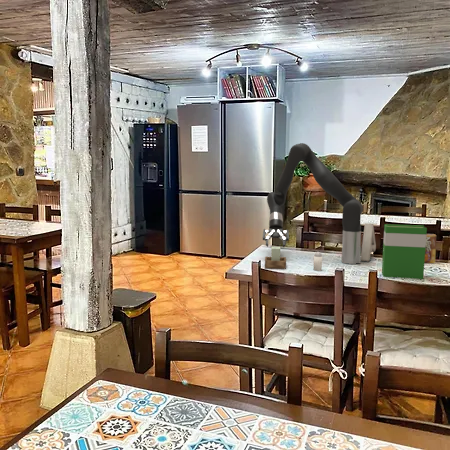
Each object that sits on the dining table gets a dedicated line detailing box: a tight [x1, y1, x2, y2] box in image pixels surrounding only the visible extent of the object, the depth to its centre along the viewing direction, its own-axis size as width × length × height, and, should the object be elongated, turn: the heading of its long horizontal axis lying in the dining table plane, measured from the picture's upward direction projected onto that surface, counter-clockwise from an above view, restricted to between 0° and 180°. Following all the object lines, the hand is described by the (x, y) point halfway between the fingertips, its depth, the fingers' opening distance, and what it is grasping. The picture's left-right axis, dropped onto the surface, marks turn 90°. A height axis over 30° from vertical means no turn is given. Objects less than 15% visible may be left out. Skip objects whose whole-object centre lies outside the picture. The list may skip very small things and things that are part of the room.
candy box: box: [424, 233, 437, 264], centre depth 242 cm, size 9×4×15 cm, turn 81°
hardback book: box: [381, 223, 428, 280], centre depth 214 cm, size 18×7×24 cm, turn 77°
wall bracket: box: [360, 223, 377, 263], centre depth 260 cm, size 22×4×30 cm
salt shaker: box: [313, 251, 323, 272], centre depth 226 cm, size 4×4×9 cm
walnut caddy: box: [264, 256, 287, 270], centre depth 232 cm, size 11×10×4 cm
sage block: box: [270, 246, 281, 261], centre depth 232 cm, size 4×4×9 cm
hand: (275, 246), depth 243 cm, fingers open, 8 cm apart
